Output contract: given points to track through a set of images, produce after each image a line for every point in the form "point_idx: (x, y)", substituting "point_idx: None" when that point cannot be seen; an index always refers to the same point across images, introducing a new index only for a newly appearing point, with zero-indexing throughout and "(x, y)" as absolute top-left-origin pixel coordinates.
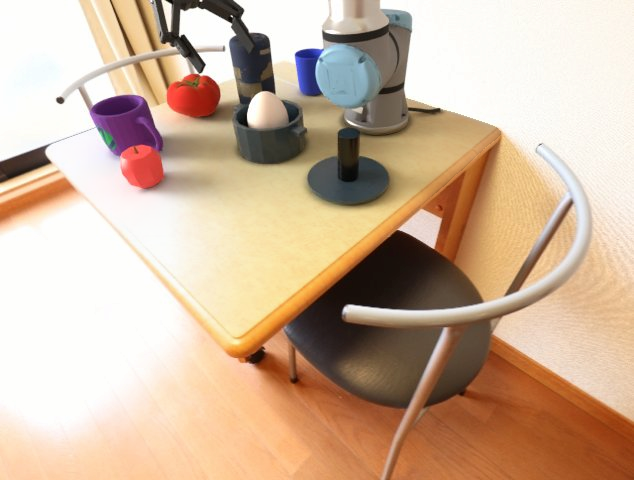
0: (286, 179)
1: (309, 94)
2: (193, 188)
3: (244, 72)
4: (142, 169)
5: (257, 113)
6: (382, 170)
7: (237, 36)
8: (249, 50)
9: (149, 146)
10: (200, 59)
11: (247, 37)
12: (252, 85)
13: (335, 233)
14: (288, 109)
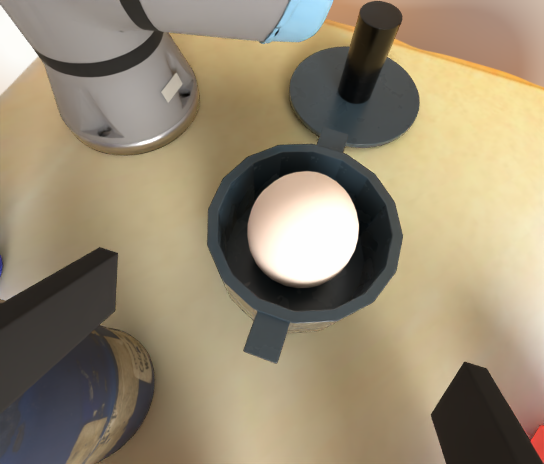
0: (390, 181)
1: (1, 269)
2: (508, 336)
3: (98, 396)
4: None
5: (356, 217)
6: (319, 56)
7: (19, 395)
8: (109, 302)
9: None
10: (491, 393)
11: (75, 286)
12: (120, 366)
13: (462, 87)
14: (225, 209)
